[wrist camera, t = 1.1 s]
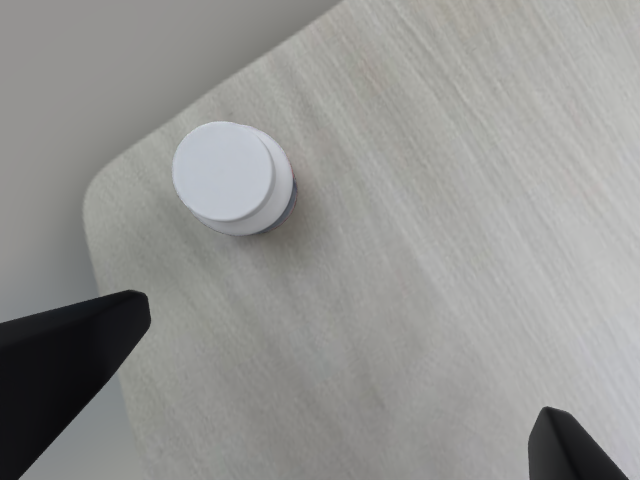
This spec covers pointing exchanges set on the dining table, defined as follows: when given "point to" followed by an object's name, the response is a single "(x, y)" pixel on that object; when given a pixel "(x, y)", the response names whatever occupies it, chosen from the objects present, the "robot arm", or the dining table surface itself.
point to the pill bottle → (234, 178)
